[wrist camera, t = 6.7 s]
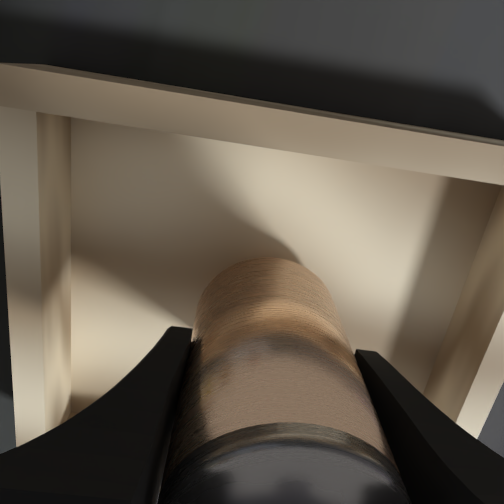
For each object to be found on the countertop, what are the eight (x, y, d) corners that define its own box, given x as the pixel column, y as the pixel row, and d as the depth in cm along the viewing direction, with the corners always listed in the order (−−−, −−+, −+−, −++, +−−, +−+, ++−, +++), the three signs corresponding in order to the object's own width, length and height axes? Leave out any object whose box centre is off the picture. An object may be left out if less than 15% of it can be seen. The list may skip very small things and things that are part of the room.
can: (315, 387, 16) (376, 654, 9) (186, 367, 16) (134, 629, 8) (352, 271, 14) (467, 483, 7) (207, 245, 14) (166, 440, 7)
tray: (412, 456, 20) (440, 518, 17) (52, 417, 19) (18, 477, 16) (535, 145, 15) (604, 162, 12) (44, 64, 13) (-8, 62, 11)
